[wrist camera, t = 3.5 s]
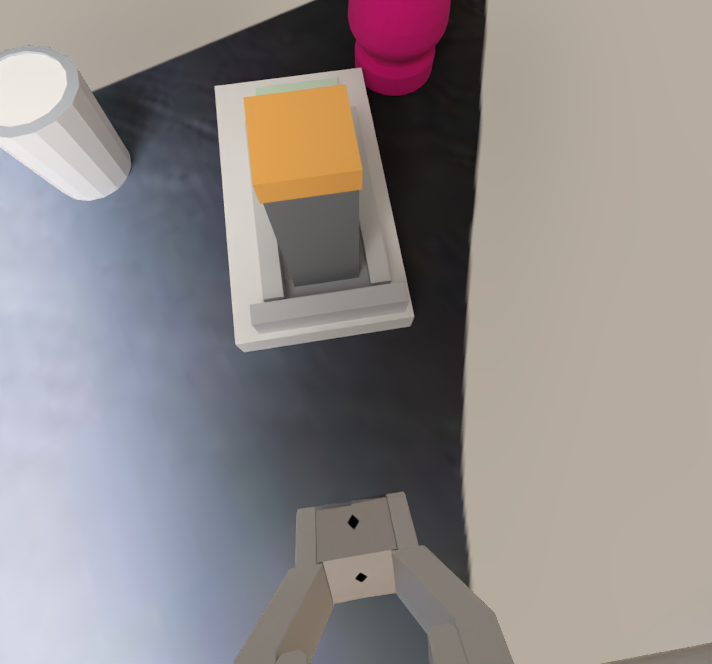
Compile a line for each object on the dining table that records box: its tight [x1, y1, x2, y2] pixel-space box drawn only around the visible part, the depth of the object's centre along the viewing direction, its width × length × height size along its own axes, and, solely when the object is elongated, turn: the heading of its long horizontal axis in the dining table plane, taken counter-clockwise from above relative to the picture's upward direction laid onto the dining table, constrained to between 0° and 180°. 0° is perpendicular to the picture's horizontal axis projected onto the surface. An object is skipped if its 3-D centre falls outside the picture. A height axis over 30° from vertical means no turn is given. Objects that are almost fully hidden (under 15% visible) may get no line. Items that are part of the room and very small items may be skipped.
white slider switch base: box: [215, 68, 414, 352], centre depth 27 cm, size 11×20×4 cm, turn 9°
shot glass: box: [0, 45, 131, 201], centre depth 27 cm, size 7×7×7 cm
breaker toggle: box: [243, 84, 363, 287], centre depth 21 cm, size 4×4×10 cm
